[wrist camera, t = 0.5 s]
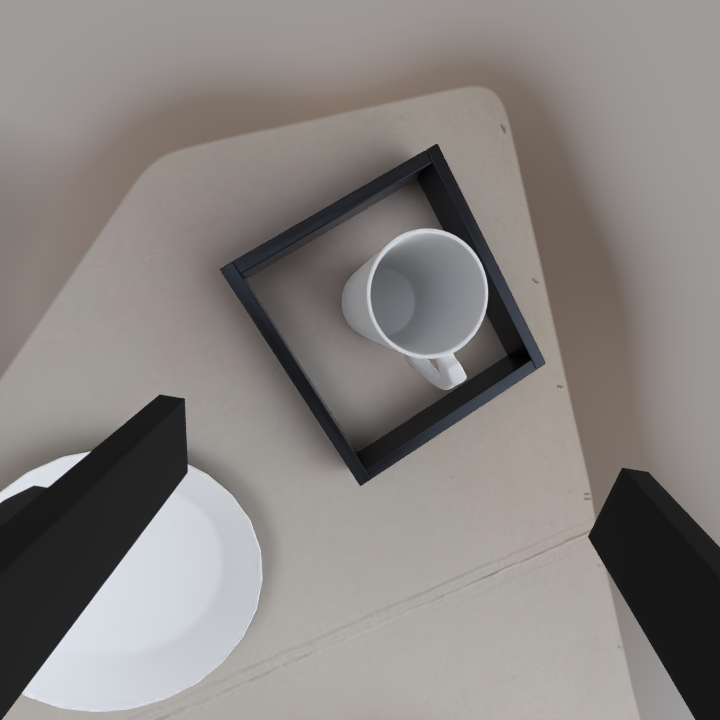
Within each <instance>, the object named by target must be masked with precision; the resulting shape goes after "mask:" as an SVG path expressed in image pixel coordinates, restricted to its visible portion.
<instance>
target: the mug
mask: <svg viewBox="0 0 720 720" xmlns="http://www.w3.org/2000/svg"><path fill="white" fill-rule="evenodd" d="M487 302H488V285H487V279H486V275H485V271H484V269H483V266H482V264H481V262H480V260H479V258H478V257H477V255H476V254H475V252H474V251H473V250H472V249H471V248H470V247H469V246H468V245H467V244H466V243H465V242H464V241H463V240H461V239H460V238H458V237H457V236H455V235H453V234H451V233H448V232H446V231H442V230H438V229H429V228H424V229H416V230H412V231H408V232H405V233H403V234H401V235H399V236H397V237H396V238H394V239H393V240H392V241H390V242H389V243H388V244H387V245H386V246H385V247H384V248H382V249H381V250H380V251H379V252H377V253H376V254H375V255H374V256H373V257H372V258H370V259H369V260H368V261H367V262H366V263H364V264H363V265H362V266H361V267H360V268H358V269H357V270H356V271H355V272H354V273H353V274H352V275H351V277H350V278H349V279H348V281H347V282H346V284H345V286H344V289H343V292H342V299H341V305H342V311H343V315H344V317H345V319H346V321H347V323H348V324H349V326H350V327H351V328H352V329H353V330H354V331H355V332H356V333H358V334H359V335H361V336H363V337H365V338H367V339H369V340H371V341H374V342H376V343H378V344H381V345H383V346H385V347H387V348H390V349H392V350H394V351H397V352H400V353H402V354H404V355H405V357H406V359H407V361H408V363H409V364H410V365H411V366H412V367H413V368H414V369H415V370H416V371H417V372H418V373H419V374H421V375H422V376H423V377H424V378H425V379H427V380H428V381H429V382H430V383H432V384H433V385H435V386H436V387H438V388H440V389H443V390H449V389H451V388H453V387H455V386H456V385H458V384H460V383H462V382H464V381H465V380H466V374H465V372H464V370H463V368H462V366H461V364H460V363H459V362H458V361H457V360H456V358H455V356H454V354H453V353H454V352H456V351H457V350H459V349H460V348H462V347H463V346H464V345H465V344H466V343H467V342H468V341H469V340H470V339H471V338H472V337H473V336H474V335H475V333H476V332H477V330H478V328H479V327H480V325H481V323H482V321H483V318H484V315H485V312H486V308H487ZM428 359H434V360H435V362H436V364H437V366H438V368H439V371H440V372H439V371H438V370H437V369H435V368H434V366H433V365H432V364H431V363H430V361H429V360H428Z"/></svg>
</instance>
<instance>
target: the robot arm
mask: <svg viewBox="0 0 720 720" xmlns="http://www.w3.org/2000/svg"><path fill="white" fill-rule="evenodd" d="M187 473H188V461H187V439H186V418H185V399H184V398H177V397H171V396H165V395H159V396H157V397H156V398H155V399H154V400H153V401H151V402H150V403H149V404H148V405H147V406H145V407H144V408H143V409H142V410H141V411H139V412H138V413H137V414H136V415H135V416H133V417H132V418H131V419H130V420H129V421H127V422H126V423H125V424H124V425H123V426H121V427H120V428H119V429H118V430H117V431H115V432H114V433H113V434H112V435H111V436H109V437H108V438H107V439H106V440H104V441H103V442H102V443H101V444H100V445H98V446H97V447H96V448H95V449H94V450H92V451H91V452H90V453H89V454H88V455H86V456H85V457H84V458H83V459H82V460H80V461H79V462H78V463H77V464H76V465H74V466H73V467H72V468H71V469H70V470H68V471H67V472H66V473H65V474H64V475H62V476H61V477H60V478H59V479H58V480H56V481H55V482H54V483H53V484H52V485H50V486H49V487H48V488H47V487H41V486H35V485H34V486H32V487H30V488H28V489H26V490H24V491H22V492H20V493H18V494H16V495H13V496H11V497H9V498H7V499H5V500H4V501H2V502H1V503H0V720H2V719H3V717H4V716H5V715H6V713H7V712H8V711H9V709H10V708H11V707H12V705H13V704H14V703H15V701H16V700H17V699H18V697H19V696H20V695H21V693H22V692H23V691H24V689H25V688H26V687H27V685H28V684H29V683H30V681H31V680H32V679H33V677H34V676H35V675H36V674H37V672H38V671H39V670H40V668H41V667H42V666H43V664H44V663H45V662H46V660H47V659H48V658H49V656H50V655H51V654H52V652H53V651H54V650H55V648H56V647H57V646H58V644H59V643H60V642H61V640H62V639H63V638H64V636H65V635H66V634H67V632H68V631H69V630H70V628H71V627H72V626H73V624H74V623H75V622H76V620H77V619H78V618H79V616H80V615H81V614H82V612H83V611H84V610H85V608H86V607H87V606H88V604H89V603H90V602H91V600H92V599H93V598H94V596H95V595H96V594H97V592H98V591H99V590H100V588H101V587H102V586H103V585H104V583H105V582H106V581H107V579H108V578H109V577H110V575H111V574H112V573H113V571H114V570H115V569H116V567H117V566H118V565H119V563H120V562H121V561H122V559H123V558H124V557H125V555H126V554H127V553H128V551H129V550H130V549H131V547H132V546H133V545H134V543H135V542H136V541H137V539H138V538H139V537H140V535H141V534H142V533H143V531H144V530H145V529H146V527H147V526H148V525H149V523H150V522H151V521H152V519H153V518H154V517H155V515H156V514H157V513H158V511H159V510H160V509H161V507H162V506H163V505H164V503H165V502H166V501H167V499H168V498H169V497H170V496H171V494H172V493H173V492H174V490H175V489H176V488H177V486H178V485H179V484H180V482H181V481H182V480H183V478H184V477H185V476H186V474H187ZM588 538H589V539H590V541H591V543H592V545H593V546H594V548H595V550H596V551H597V553H598V555H599V556H600V558H601V560H602V562H603V563H604V565H605V567H606V568H607V570H608V572H609V573H610V575H611V577H612V578H613V580H614V582H615V584H616V585H617V587H618V589H619V590H620V592H621V594H622V596H623V597H624V599H625V601H626V602H627V604H628V606H629V607H630V609H631V611H632V612H633V614H634V616H635V618H636V619H637V621H638V623H639V625H640V626H641V628H642V630H643V631H644V633H645V635H646V636H647V638H648V640H649V642H650V643H651V645H652V647H653V648H654V650H655V652H656V653H657V655H658V657H659V658H660V660H661V662H662V664H663V665H664V667H665V669H666V670H667V672H668V674H669V675H670V677H671V679H672V681H673V682H674V684H675V686H676V687H677V689H678V691H679V693H680V694H681V696H682V698H683V699H684V701H685V703H686V705H687V706H688V708H689V710H690V711H691V713H692V715H693V716H694V718H695V720H720V547H719V546H718V545H717V544H716V543H715V542H714V541H713V540H712V539H711V538H710V536H709V535H707V534H706V532H704V530H703V529H702V528H701V527H700V526H699V525H698V524H697V523H696V522H695V521H694V520H693V519H692V518H691V517H690V515H689V514H688V513H687V512H686V511H685V510H684V509H683V508H682V507H681V506H680V505H679V504H678V503H677V502H676V501H675V500H674V499H673V498H672V497H671V496H670V494H669V493H668V492H667V491H666V490H665V489H664V488H663V487H662V486H661V485H660V484H659V483H658V482H657V481H656V480H655V479H654V478H653V477H652V476H651V474H650V473H649V472H645V471H639V470H632V469H626V468H622V469H621V471H620V473H619V475H618V477H617V479H616V482H615V483H614V485H613V487H612V489H611V491H610V493H609V495H608V498H607V499H606V502H605V504H604V506H603V508H602V510H601V512H600V514H599V516H598V518H597V520H596V522H595V524H594V526H593V528H592V530H591V532H590V534H589V536H588Z"/></svg>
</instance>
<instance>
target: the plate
mask: <svg viewBox="0 0 720 720" xmlns="http://www.w3.org/2000/svg"><path fill="white" fill-rule="evenodd" d="M90 452H91V451H89V452H84V453H78V454H73V455H68V456H63V457H61V458H59V459H56V460H54V461H52V462H49V463H47V464H45V465H42V466H40V467H38V468H35V469H33V470H31V471H28V472H27V473H25V474H24V475H23V476H21V477H20V478H19V479H17V480H16V481H14V482H13V483H12V484H10V485H9V486H8V487H6V488H5V489H4V490H2V491H1V492H0V503H1V502H2V501H4V500H5V499H7V498H9V497H11V496H13V495H16V494H18V493H20V492H22V491H24V490H26V489H28V488H30V487H32V486H34V485H35V486H41V487H47V488H48V487H49V486H50V485H52V484H53V483H54V482H55V481H56V480H58V479H59V478H60V477H61V476H62V475H64V474H65V473H66V472H67V471H68V470H70V469H71V468H72V467H73V466H74V465H76V464H77V463H78V462H79V461H80V460H82V459H83V458H84V457H85V456H86V455H88V454H89V453H90ZM262 580H263V578H262V563H261V549H260V546H259V543H258V541H257V538H256V535H255V532H254V529H253V526H252V523H251V521H250V519H249V518H248V516H247V515H246V514H245V512H244V511H243V509H242V508H241V506H240V505H239V503H238V502H237V501H236V499H235V498H234V496H233V495H232V494H231V493H229V492H228V491H227V490H226V489H225V488H224V487H222V486H221V485H220V484H219V483H218V482H217V481H215V480H214V479H213V478H212V477H211V476H210V475H208V474H207V473H205V472H203V471H201V470H199V469H197V468H195V467H193V466H191V465H189V464H188V473H187V474H186V476H185V477H184V478H183V480H182V481H181V482H180V484H179V485H178V486H177V488H176V489H175V490H174V492H173V493H172V494H171V496H170V497H169V498H168V499H167V501H166V502H165V503H164V505H163V506H162V507H161V509H160V510H159V511H158V513H157V514H156V515H155V517H154V518H153V519H152V521H151V522H150V523H149V525H148V526H147V527H146V529H145V530H144V531H143V533H142V534H141V535H140V537H139V538H138V539H137V541H136V542H135V543H134V545H133V546H132V547H131V549H130V550H129V551H128V553H127V554H126V555H125V557H124V558H123V559H122V561H121V562H120V563H119V565H118V566H117V567H116V569H115V570H114V571H113V573H112V574H111V575H110V577H109V578H108V579H107V581H106V582H105V583H104V585H103V586H102V587H101V588H100V590H99V591H98V592H97V594H96V595H95V596H94V598H93V599H92V600H91V602H90V603H89V604H88V606H87V607H86V608H85V610H84V611H83V612H82V614H81V615H80V616H79V618H78V619H77V620H76V622H75V623H74V624H73V626H72V627H71V628H70V630H69V631H68V632H67V634H66V635H65V636H64V638H63V639H62V640H61V642H60V643H59V644H58V646H57V647H56V648H55V650H54V651H53V652H52V654H51V655H50V656H49V658H48V659H47V660H46V662H45V663H44V664H43V666H42V667H41V668H40V670H39V671H38V672H37V674H36V675H35V676H34V677H33V679H32V680H31V681H30V683H29V684H28V685H27V687H26V688H25V689H24V691H23V692H22V693H21V694H23V695H24V696H26V697H29V698H31V699H34V700H37V701H40V702H43V703H46V704H49V705H52V706H55V707H58V708H62V709H71V710H80V711H90V712H104V711H115V710H126V709H134V708H137V707H140V706H144V705H147V704H151V703H154V702H158V701H161V700H165V699H167V698H169V697H171V696H173V695H175V694H177V693H179V692H181V691H183V690H185V689H187V688H188V687H190V686H192V685H194V684H196V683H198V682H199V681H200V680H201V679H203V678H204V677H205V676H206V675H208V674H209V673H210V672H211V671H212V670H214V669H215V668H216V667H217V666H219V665H220V664H221V663H222V662H223V661H224V660H225V659H226V658H227V656H228V655H229V654H230V653H231V651H232V650H233V649H234V648H235V646H236V645H237V644H238V643H239V641H240V640H241V639H242V638H243V636H244V634H245V632H246V630H247V628H248V626H249V624H250V622H251V620H252V618H253V616H254V614H255V611H256V609H257V605H258V600H259V595H260V590H261V585H262Z"/></svg>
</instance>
